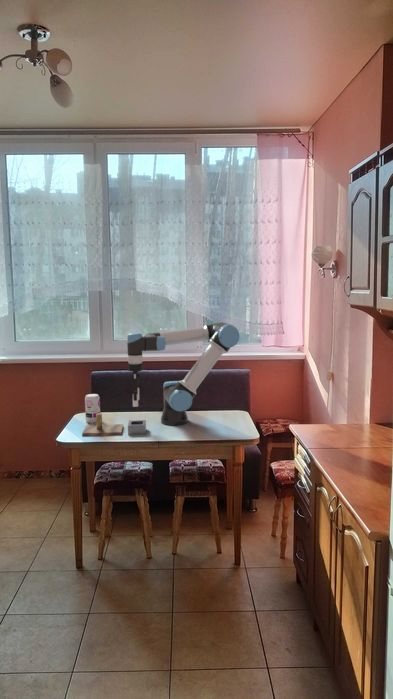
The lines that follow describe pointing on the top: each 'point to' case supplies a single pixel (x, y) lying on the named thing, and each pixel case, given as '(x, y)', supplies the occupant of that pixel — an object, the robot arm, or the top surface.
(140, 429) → the grey square socket block
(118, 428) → the keeper plate
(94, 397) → the supplement can
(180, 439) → the top surface
